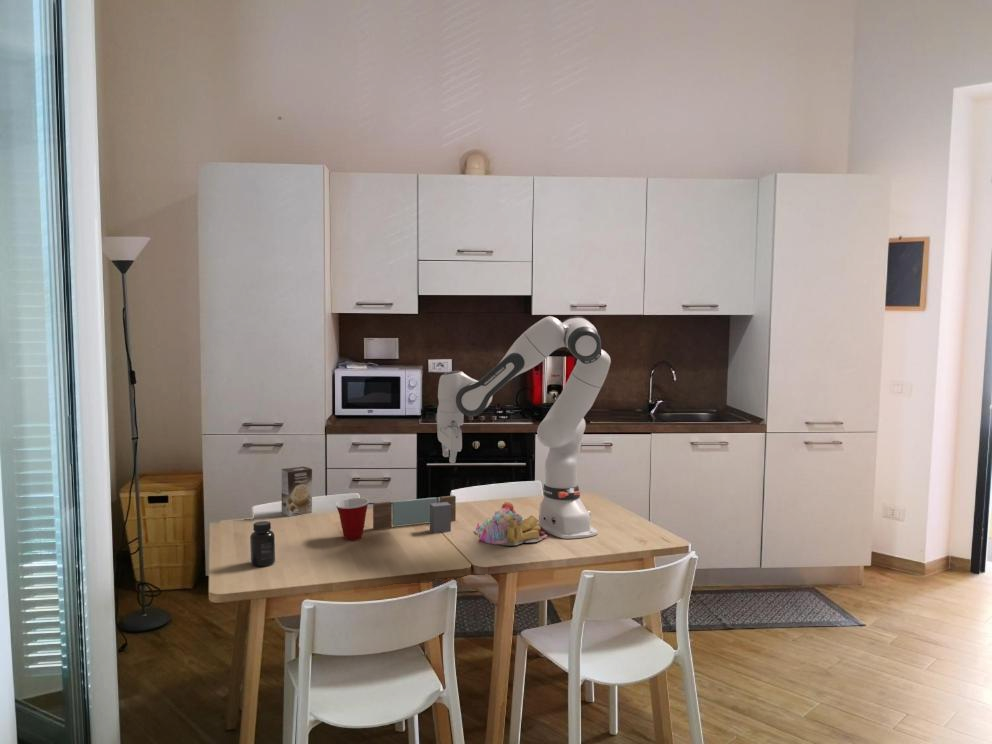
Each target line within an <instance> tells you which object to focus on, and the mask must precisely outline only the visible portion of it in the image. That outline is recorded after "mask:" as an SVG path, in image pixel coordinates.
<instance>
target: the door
mask: <svg viewBox="0 0 992 744" xmlns="http://www.w3.org/2000/svg"><path fill="white" fill-rule="evenodd" d="M391 503H392V527H397V526H399V527H400V526H407V525H416V524H426V523H430V504H431V503H441V496H439V497H436V496H435V497H426V498H416V499H407V500H406V499H404V500H394V501H391Z"/></svg>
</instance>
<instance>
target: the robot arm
mask: <svg viewBox="0 0 992 744" xmlns="http://www.w3.org/2000/svg"><path fill="white" fill-rule="evenodd" d="M561 348H567V349H568V351H569V352H570V353H571V355H573V356H574V357H575V358H576V359H577V360H576V364H575V366H574V367H573V368H572V369H573V370H572V371H571V373H570V375H569V377H568V379H567V381H566V383H565V385H564V387H563V389H562V391H561V393H560V394H559V396H558V397H557V399H556V400H555V401H554V402H553V405H551V407H550V409H549V411H548V412H547V413H546V415H545V417H544V418H543V420H542V421H541V422H540V423H539V425H538V427H537V430H536V433H537V438H538V440H539V442H540V443H541V444H542V445H543V446H544V447H547V448H549V450H548V454H547V456H546V459H545V461H544V484H543V488H542V493H543V498H542V501H541V502H540V504H539V511H538V512H539V514H538V522H537V524H538V525H539V527H542V528H543V529H544V530H545V531H546V532H547V533H548V535H552V536H555V537H557V538H560V539H567V540H568V539H580V538H581V539H582V538H589V537H593V536H596V535H598V534H599V533H598V530H597V529H596V528H595V527H594V526H592V525H591V516H592V515H591V511H590V510H587V508H586V507H585V504H584V503H583V502H582V499H581V498H580V497H581V490H580V488H579V485H578V472H579V471H578V470H579V469H578V468H579V467H578V465H579V458H580V452H581V448H582V442H583V436H584V433H585V430H586V427H587V426H586V419H585V416H586V415H587V413H588V412H589V411H590V410H591V408H592V407H593V405H594V403H595V401H596V398H597V397H598V395H599V393H600V391H601V389H602V387H603V386H604V382H605V380H606V378H607V376H608V373H609V370H610V366H611V363H612V361H611V360H612V359H611V357H610V354H609V353H607V351H605V350H604V349H602V340H601V336H600V333H598V330H597V328H596V327H595V325H594V324H592V322H591V321H590V320H589V319H587V318H586V317H584V316H581V315H575V316H571V317H567V318H564V319H561V320H559V319H558V318H557V317H554V316H552V315H549V316H546V317H543V318H542V319H540V320H539V321H537V322H535V323H534V324H533V325H531V326H530V327H528V328H527V329H526V330H525V331H524V332H523V333H522V334H521V335H520V336H519V337H518V338H517V339H516V340H515V341H514V342H513V344H512V345H511V346H510V347H509V348H508V351H506V354H505V355H504V356H503V358H502V359H501V360H500V361H499V363H497V365H495V366H494V367H493V368H492V369H491V370H490V371H489V372H487V374H485V375H484V376H483V377H482V378H481V379H480V380H479V379H478V380H477V379H475V378H472V377H471V376H469V375H467V374H466V373H464V372H463V371H462V370H452V371H446V372H444V373H443V374H441V375H440V377H439V381H438V389H437V399H438V405H437V410H436V411H437V412H436V414H435V421H436V429H437V430H436V432H437V440H438V442H440V443H441V448H442V456H443V457H444V458H449V459H448V460H449V463H450V464H456V460H457V454H458V452H461V451H462V449H463V433H462V429H461V427H460V426H463V425H464V419H465V418H464V416H465V417H466V416H467V417H470V418H471V417H472V418H473V417H477V416H479V415H481V414H482V413H484V411H485V410H486V409H487V408H488V407H489V406H490V404H491V403H492V401H493V399H494V398H493V395H495V394H496V393H497V392H498V391H499V390H500V389H501V388H503V387H504V386H505V385H506V384H507V383H508V382H509V381H511V380H512V379H513V378H516V377H517V376H518V375H521V374H523V373H525V372H528V371H529V370H531V369H533V368H535V367H536V366H538V365H539V364H541V363H542V362H543V361H545V359H547V358H548V357H549V356H550V355H551V354H552V353H554V352H555V351H557V350H558V349H561Z"/></svg>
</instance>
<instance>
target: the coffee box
mask: <svg viewBox="0 0 992 744" xmlns="http://www.w3.org/2000/svg"><path fill="white" fill-rule="evenodd" d="M281 513H282V514H284V515H286V516H287V517H294V516H300V515H305V514H306V515H307V514H312V513H313V468H311V467H308V466H296V467H295V466H294V467H287V468H281Z"/></svg>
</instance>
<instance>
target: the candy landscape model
mask: <svg viewBox="0 0 992 744" xmlns="http://www.w3.org/2000/svg"><path fill="white" fill-rule="evenodd" d="M514 508H515V507H514V504H512V502H510V501H509V502H508V501H507V502H504V503H503V504H502V505H501V508H500V509H499V510H496V511H495V512H494V515H493V516H492V517H487V518H486V519H485V521H484V522H483V523H482V524H481V525H480V523H477V524H476V525H477V526H476V527H475V530H474V533H475V534H476V535H478V536H479V537H478V539H479V541H480V542H483V543H484V542H485V543H486V544H489V545H493V544H494V545H501V546H518V545H521V544H523V543H526V544H527V543H536V542H537V543H538V542H539V541H542V540H543V539H545V538H547V537H548V536H549V533H547V532H546V531H545V530H544V529H543V528H542V527H539V525H538V521H539V519H537V518H536V517H535V516H533V515H529V516H528V517H527V518H525V519H523V516H521V514H520V513H517V512H516V510H515V509H514Z"/></svg>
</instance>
